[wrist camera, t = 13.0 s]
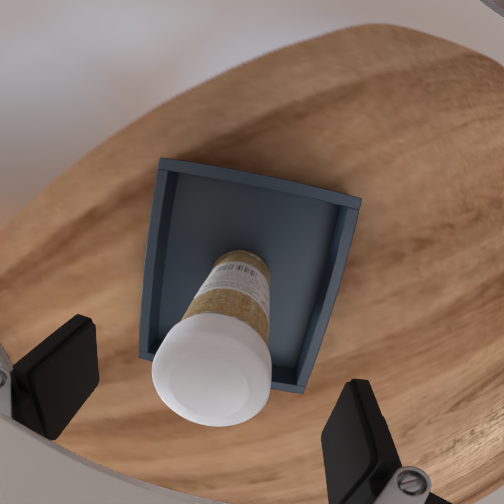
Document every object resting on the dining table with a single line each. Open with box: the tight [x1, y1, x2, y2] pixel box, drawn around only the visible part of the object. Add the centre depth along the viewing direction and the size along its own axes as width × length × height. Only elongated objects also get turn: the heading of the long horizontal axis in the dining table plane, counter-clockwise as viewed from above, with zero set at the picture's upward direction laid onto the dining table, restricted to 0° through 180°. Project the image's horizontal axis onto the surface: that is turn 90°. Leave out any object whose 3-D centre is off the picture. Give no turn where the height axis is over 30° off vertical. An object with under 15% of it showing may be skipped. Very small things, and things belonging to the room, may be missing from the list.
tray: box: [139, 158, 362, 394], centre depth 22 cm, size 16×14×3 cm
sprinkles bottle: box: [152, 250, 272, 426], centre depth 17 cm, size 5×5×13 cm
